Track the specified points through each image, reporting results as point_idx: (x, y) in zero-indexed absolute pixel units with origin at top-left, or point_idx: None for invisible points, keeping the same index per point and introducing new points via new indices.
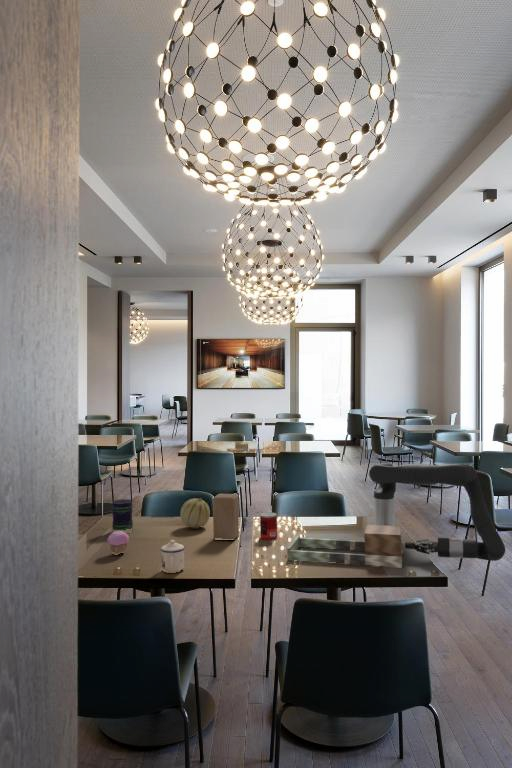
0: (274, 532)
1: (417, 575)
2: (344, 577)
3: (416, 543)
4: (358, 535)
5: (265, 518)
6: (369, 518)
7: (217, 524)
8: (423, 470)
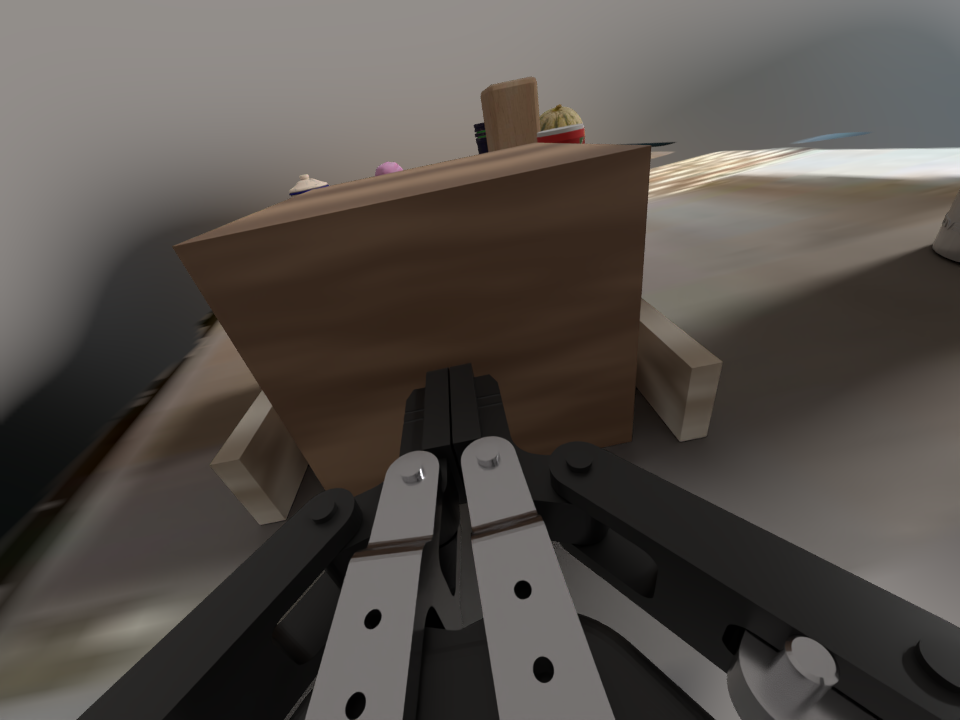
0: None
1: None
2: (190, 360)
3: (400, 475)
4: (818, 229)
5: (537, 140)
6: None
7: None
8: None
